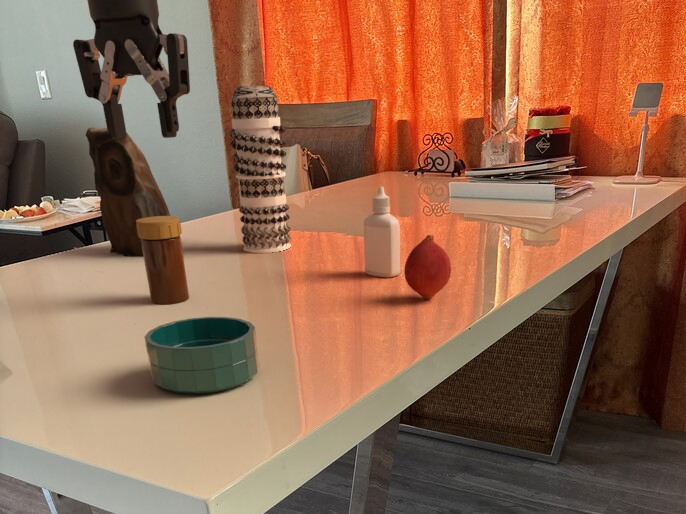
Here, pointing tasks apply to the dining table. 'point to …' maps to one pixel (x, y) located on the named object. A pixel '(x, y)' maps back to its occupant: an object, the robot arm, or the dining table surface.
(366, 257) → the eye dropper bottle
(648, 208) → the dining table surface
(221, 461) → the dining table surface
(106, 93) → the robot arm
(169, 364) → the bowl
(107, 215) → the owl
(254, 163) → the decorative candle
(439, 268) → the onion
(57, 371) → the dining table surface
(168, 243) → the jar
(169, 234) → the lid
